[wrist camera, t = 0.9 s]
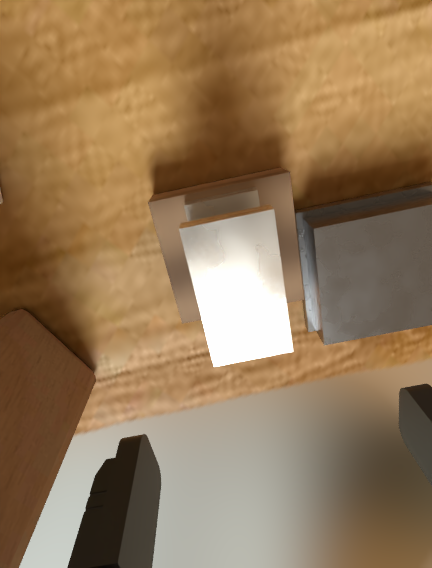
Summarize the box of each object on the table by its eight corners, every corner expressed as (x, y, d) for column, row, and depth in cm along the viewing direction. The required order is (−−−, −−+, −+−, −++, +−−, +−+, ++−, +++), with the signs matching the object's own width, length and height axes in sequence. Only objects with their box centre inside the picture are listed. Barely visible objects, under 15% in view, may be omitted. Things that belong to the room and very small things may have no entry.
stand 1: (153, 194, 27) (148, 202, 25) (280, 167, 27) (290, 171, 24) (183, 306, 31) (182, 323, 29) (294, 284, 31) (304, 299, 28)
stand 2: (292, 210, 28) (306, 223, 25) (431, 181, 28) (465, 190, 24) (305, 326, 33) (318, 351, 29) (424, 303, 32) (453, 325, 29)
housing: (184, 202, 25) (178, 229, 18) (255, 187, 24) (274, 208, 18) (211, 312, 28) (213, 366, 22) (272, 300, 28) (293, 351, 22)
